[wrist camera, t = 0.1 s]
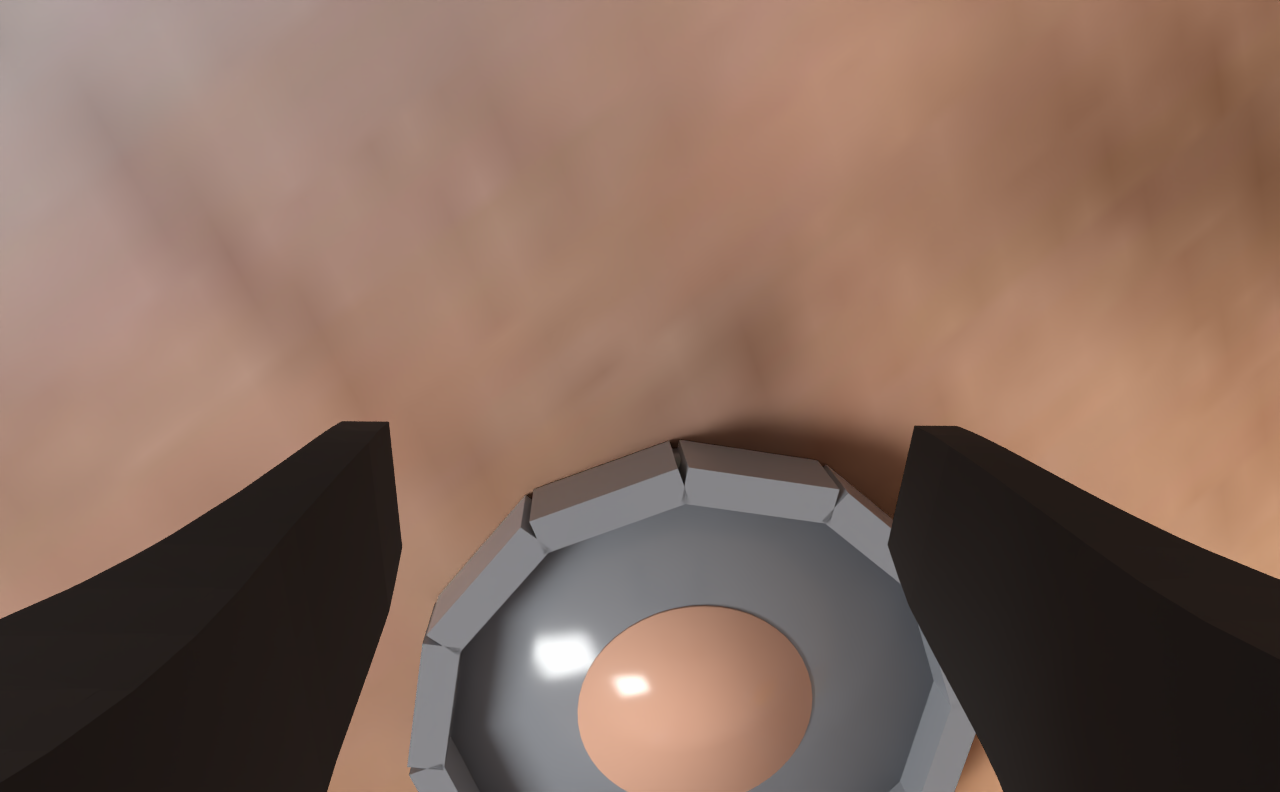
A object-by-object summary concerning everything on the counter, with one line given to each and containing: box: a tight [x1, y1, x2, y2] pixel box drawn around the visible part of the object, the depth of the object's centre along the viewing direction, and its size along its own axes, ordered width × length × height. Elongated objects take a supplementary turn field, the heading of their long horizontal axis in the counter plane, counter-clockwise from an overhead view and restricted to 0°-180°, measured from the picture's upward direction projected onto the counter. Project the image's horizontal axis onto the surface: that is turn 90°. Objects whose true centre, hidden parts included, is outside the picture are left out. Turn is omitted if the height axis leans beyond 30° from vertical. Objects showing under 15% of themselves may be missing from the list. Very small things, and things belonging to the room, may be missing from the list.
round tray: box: [407, 440, 976, 792], centre depth 24 cm, size 16×16×2 cm
